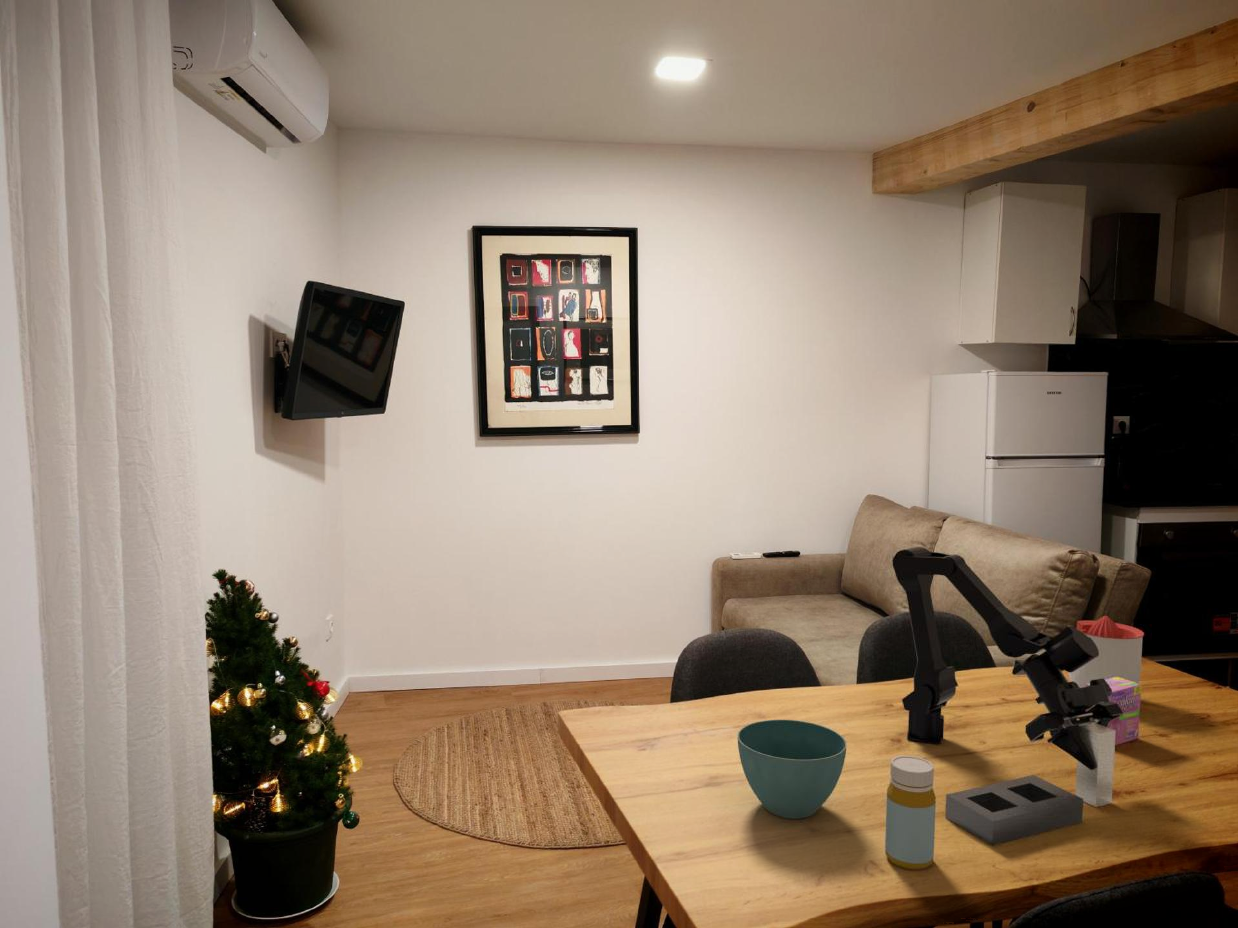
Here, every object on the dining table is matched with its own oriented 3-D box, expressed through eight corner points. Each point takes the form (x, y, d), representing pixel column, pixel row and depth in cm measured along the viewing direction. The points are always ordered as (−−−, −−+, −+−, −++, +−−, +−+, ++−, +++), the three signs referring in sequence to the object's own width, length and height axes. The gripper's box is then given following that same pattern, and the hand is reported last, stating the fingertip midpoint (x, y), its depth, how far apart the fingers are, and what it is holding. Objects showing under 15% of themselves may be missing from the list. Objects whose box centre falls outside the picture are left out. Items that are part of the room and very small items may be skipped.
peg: (1095, 807, 150) (1099, 733, 149) (1075, 797, 154) (1078, 725, 153) (1111, 802, 152) (1115, 730, 151) (1091, 793, 156) (1094, 722, 155)
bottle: (877, 848, 136) (880, 755, 135) (921, 846, 137) (924, 753, 135) (895, 872, 129) (899, 774, 128) (941, 870, 130) (944, 772, 129)
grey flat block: (992, 845, 137) (993, 821, 137) (945, 817, 146) (946, 794, 146) (1082, 821, 145) (1083, 798, 145) (1032, 796, 154) (1033, 774, 154)
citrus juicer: (1071, 682, 217) (1075, 603, 216) (1149, 700, 204) (1154, 616, 203) (1046, 696, 207) (1049, 613, 205) (1127, 716, 194) (1131, 628, 192)
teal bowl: (731, 782, 159) (732, 717, 158) (832, 785, 158) (833, 719, 157) (742, 832, 141) (743, 758, 140) (856, 835, 140) (858, 761, 139)
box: (1108, 748, 176) (1111, 691, 175) (1081, 738, 181) (1084, 683, 180) (1139, 739, 181) (1142, 683, 180) (1113, 730, 186) (1115, 675, 185)
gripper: (1041, 669, 151) (1095, 755, 142) (1116, 657, 158) (1172, 738, 149) (1003, 699, 159) (1052, 782, 150) (1076, 686, 166) (1127, 765, 157)
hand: (1102, 766), depth 151 cm, fingers closed on peg, 4 cm apart
